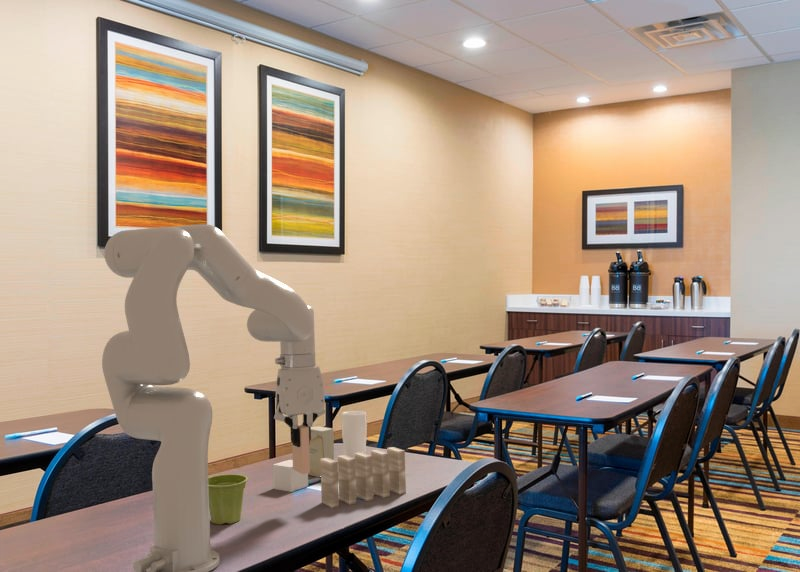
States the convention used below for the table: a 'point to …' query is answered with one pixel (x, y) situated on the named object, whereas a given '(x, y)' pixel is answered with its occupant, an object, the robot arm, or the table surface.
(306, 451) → the domino
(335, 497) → the domino
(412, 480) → the table surface
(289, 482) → the white cube
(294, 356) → the robot arm
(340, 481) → the domino
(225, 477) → the plant pot
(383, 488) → the domino
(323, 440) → the skincare box
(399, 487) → the domino
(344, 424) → the drinking glass
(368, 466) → the domino
